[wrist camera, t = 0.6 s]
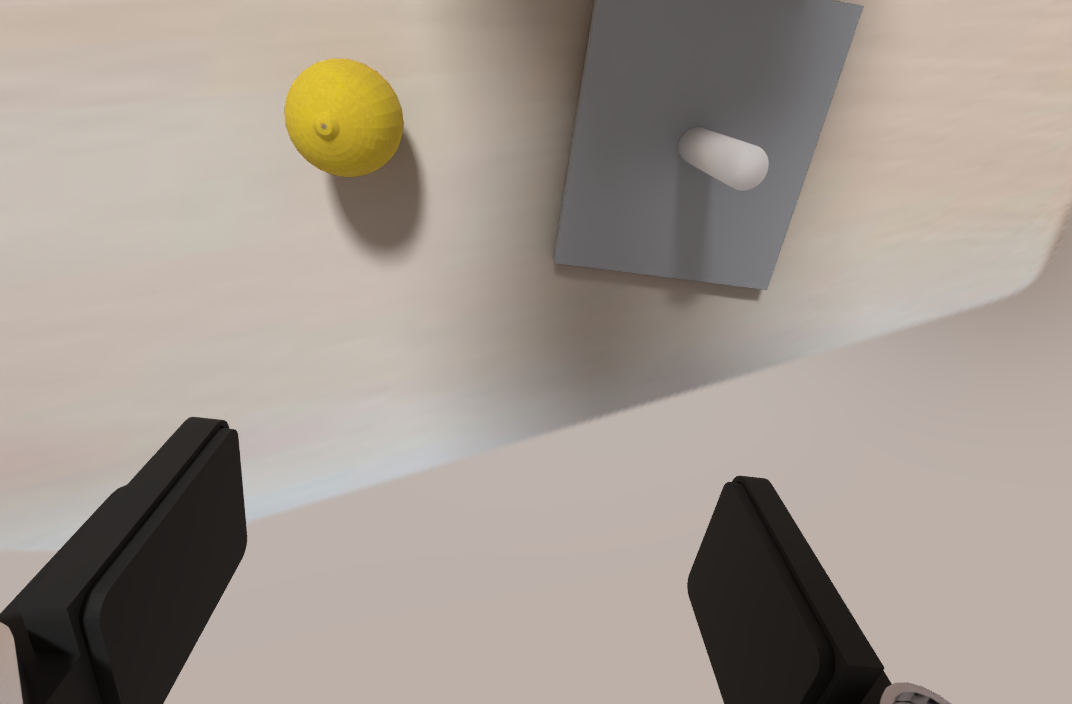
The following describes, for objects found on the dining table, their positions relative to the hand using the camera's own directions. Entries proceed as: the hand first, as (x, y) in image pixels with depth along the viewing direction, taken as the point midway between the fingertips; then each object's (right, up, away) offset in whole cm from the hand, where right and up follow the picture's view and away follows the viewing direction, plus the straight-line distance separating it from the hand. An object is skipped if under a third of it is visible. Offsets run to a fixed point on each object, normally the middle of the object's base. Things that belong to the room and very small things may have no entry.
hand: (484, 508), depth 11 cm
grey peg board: (+10, +15, +23) cm, 29 cm away
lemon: (-9, +17, +22) cm, 29 cm away
